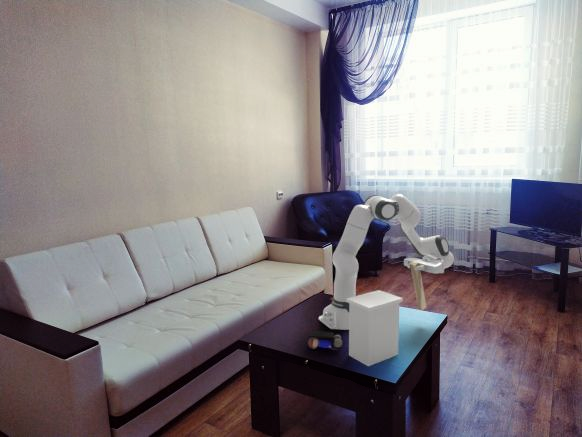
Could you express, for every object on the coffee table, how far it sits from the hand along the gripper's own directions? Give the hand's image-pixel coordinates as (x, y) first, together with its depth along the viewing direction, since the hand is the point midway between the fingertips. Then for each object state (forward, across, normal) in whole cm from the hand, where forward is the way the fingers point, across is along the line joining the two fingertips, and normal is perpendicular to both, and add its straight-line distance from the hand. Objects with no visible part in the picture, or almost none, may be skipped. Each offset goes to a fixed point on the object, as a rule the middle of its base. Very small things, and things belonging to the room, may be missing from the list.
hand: (412, 267), depth 210 cm
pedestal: (+37, +11, +32) cm, 50 cm away
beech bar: (-7, 0, +10) cm, 12 cm away
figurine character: (+50, -7, +32) cm, 60 cm away
